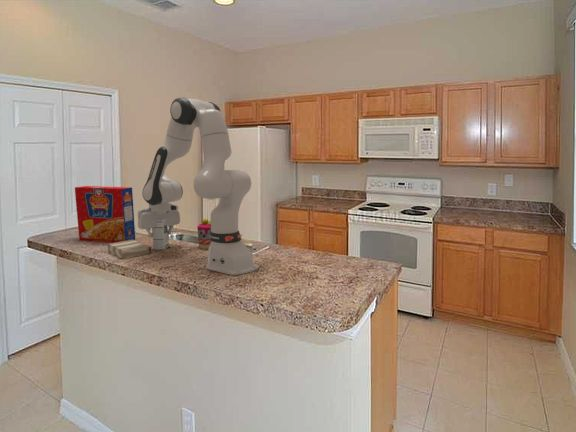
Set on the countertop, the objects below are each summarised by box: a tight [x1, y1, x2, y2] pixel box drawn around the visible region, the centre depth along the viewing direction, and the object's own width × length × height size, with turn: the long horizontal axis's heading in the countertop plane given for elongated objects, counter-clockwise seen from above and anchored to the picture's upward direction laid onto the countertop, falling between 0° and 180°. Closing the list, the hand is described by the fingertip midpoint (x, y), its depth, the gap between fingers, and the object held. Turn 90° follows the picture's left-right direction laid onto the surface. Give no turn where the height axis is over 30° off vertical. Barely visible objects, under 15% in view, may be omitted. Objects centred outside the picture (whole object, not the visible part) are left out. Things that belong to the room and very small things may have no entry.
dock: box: [107, 239, 152, 260], centre depth 177 cm, size 16×13×4 cm
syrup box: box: [151, 219, 170, 251], centre depth 185 cm, size 6×6×14 cm
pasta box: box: [74, 185, 136, 244], centre depth 199 cm, size 28×8×28 cm, turn 75°
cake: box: [197, 218, 211, 250], centre depth 188 cm, size 10×11×15 cm
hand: (160, 235), depth 185 cm, fingers closed on syrup box, 8 cm apart
